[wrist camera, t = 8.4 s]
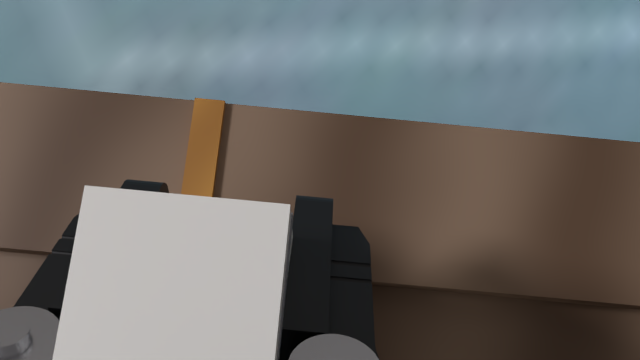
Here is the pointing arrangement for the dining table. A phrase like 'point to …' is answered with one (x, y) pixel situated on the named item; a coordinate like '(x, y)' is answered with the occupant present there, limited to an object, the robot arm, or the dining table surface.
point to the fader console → (365, 210)
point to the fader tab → (175, 278)
